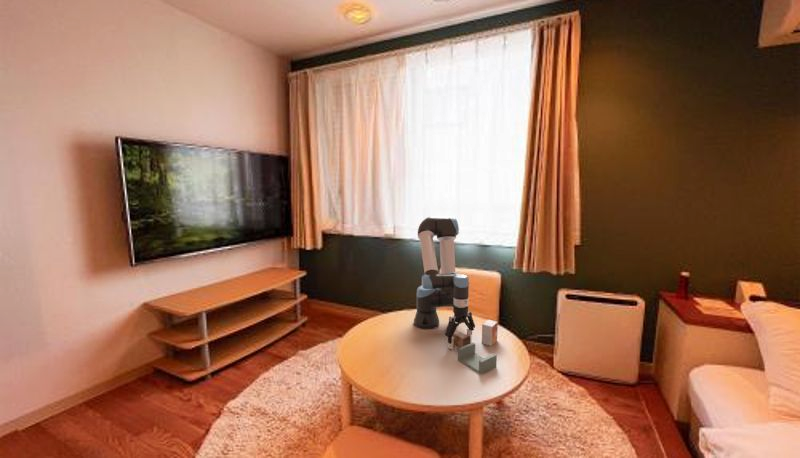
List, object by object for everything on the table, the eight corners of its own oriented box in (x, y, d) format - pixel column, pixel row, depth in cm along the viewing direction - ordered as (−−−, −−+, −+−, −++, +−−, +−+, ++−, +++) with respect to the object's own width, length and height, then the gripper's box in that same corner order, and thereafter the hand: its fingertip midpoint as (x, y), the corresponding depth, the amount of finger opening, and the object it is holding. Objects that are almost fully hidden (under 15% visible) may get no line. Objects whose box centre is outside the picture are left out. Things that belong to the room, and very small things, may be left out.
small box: (491, 346, 169) (492, 327, 167) (481, 343, 172) (481, 324, 171) (497, 340, 175) (498, 321, 173) (487, 337, 178) (488, 319, 177)
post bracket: (457, 360, 156) (458, 348, 155) (472, 353, 162) (472, 342, 161) (481, 374, 144) (481, 362, 143) (496, 367, 150) (496, 355, 149)
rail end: (450, 342, 173) (450, 331, 172) (456, 340, 176) (456, 329, 175) (463, 350, 165) (464, 339, 164) (470, 347, 167) (470, 336, 167)
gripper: (448, 313, 157) (447, 355, 160) (482, 302, 171) (481, 341, 174) (437, 308, 163) (437, 348, 166) (472, 298, 177) (471, 335, 180)
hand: (460, 344), depth 170 cm, fingers open, 12 cm apart
